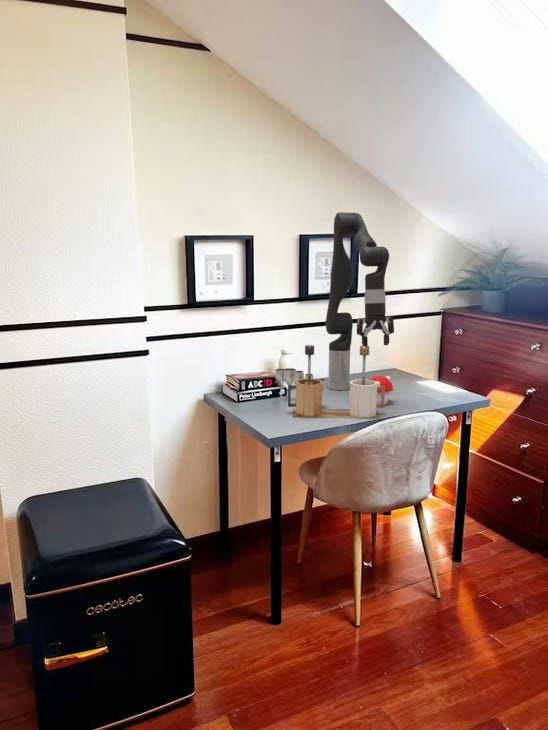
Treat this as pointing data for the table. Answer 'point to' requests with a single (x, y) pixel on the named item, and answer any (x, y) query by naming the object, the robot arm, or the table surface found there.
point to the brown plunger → (364, 360)
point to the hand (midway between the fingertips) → (375, 345)
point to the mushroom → (386, 383)
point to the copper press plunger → (309, 359)
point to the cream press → (364, 398)
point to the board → (333, 414)
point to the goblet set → (293, 377)
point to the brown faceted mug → (307, 397)
